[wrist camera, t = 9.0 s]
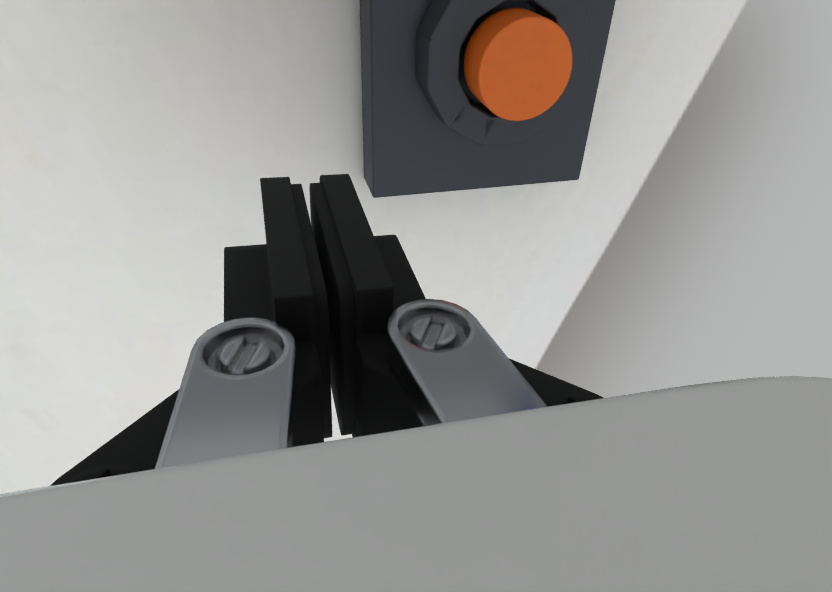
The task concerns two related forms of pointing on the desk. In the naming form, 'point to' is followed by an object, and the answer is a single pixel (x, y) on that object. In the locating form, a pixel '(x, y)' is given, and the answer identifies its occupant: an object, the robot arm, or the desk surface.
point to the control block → (467, 99)
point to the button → (517, 63)
